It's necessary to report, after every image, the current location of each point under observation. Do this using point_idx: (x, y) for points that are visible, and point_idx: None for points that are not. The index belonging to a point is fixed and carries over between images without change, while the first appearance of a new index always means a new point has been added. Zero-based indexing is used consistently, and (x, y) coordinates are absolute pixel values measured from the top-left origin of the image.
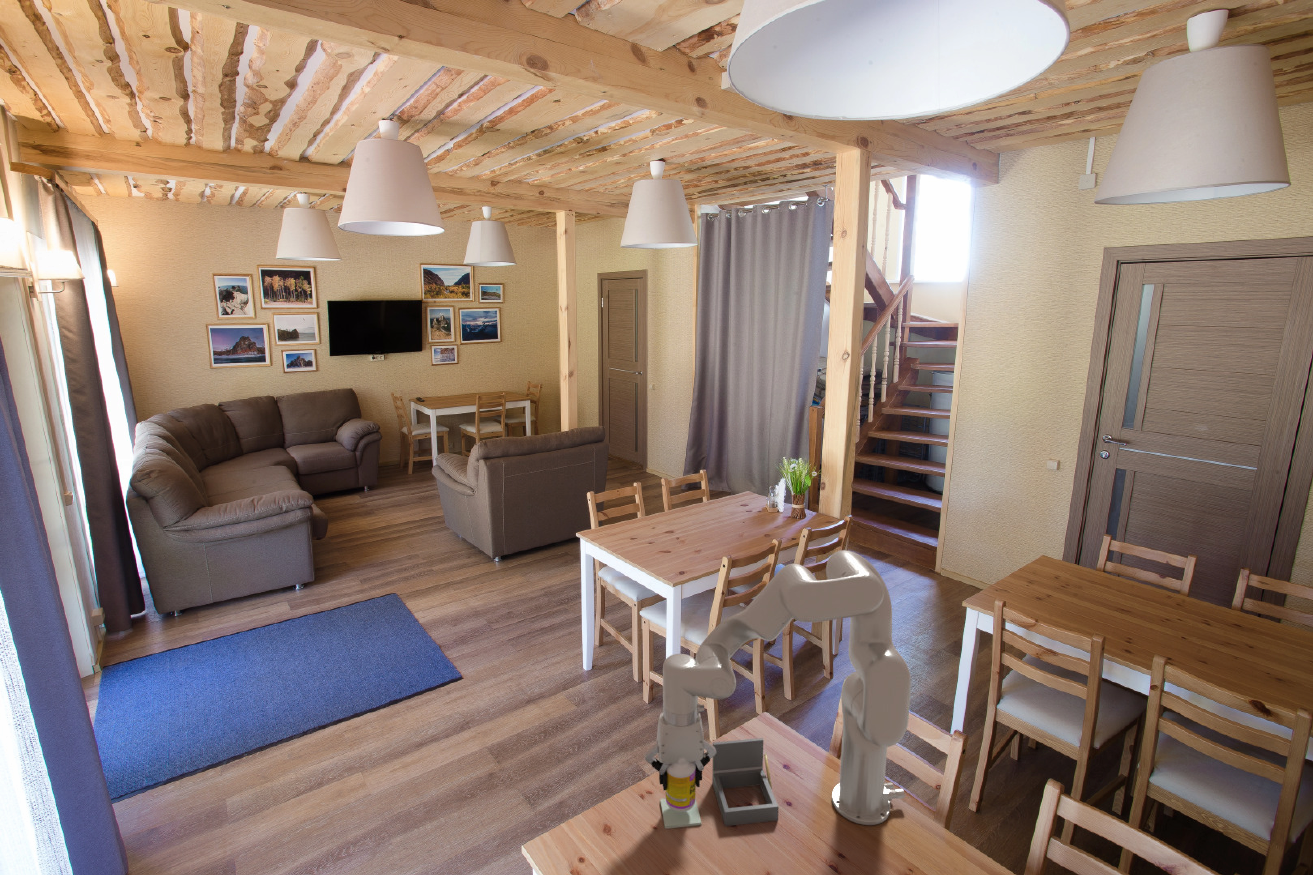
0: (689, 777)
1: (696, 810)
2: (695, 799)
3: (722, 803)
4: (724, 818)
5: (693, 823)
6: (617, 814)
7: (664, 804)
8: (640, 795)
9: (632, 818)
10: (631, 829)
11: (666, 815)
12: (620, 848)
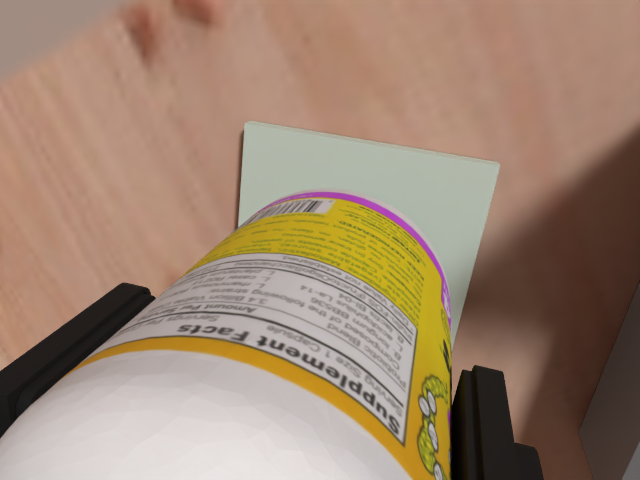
0: None
1: (453, 294)
2: (489, 203)
3: (636, 448)
4: (592, 455)
5: None
6: (2, 146)
7: (262, 178)
8: (133, 25)
9: (79, 200)
10: (73, 268)
11: None
12: (26, 348)
